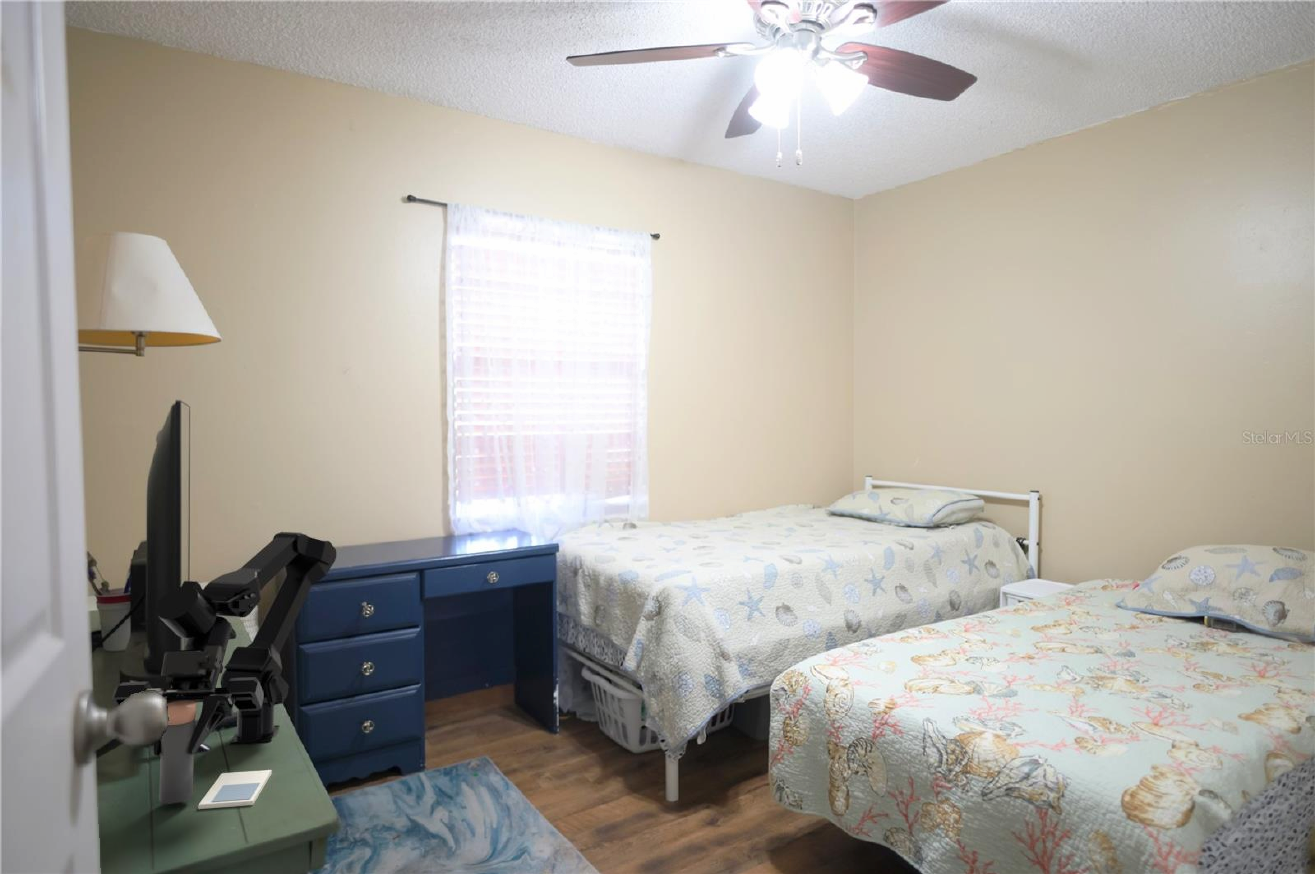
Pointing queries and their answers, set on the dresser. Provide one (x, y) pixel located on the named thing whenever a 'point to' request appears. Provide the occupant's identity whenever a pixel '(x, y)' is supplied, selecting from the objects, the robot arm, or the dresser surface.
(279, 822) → the dresser surface
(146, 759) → the dresser surface
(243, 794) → the notepad
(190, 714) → the bottle
